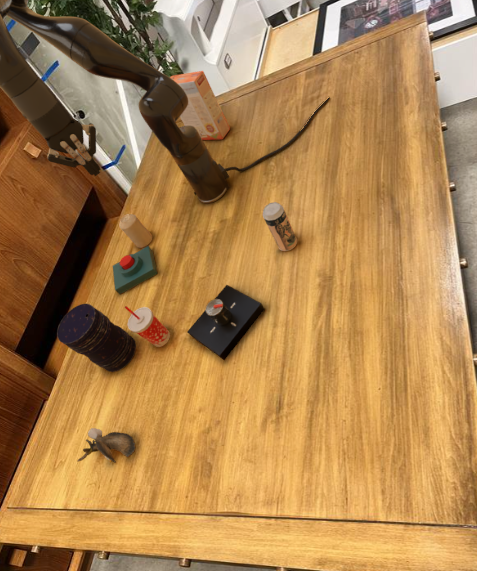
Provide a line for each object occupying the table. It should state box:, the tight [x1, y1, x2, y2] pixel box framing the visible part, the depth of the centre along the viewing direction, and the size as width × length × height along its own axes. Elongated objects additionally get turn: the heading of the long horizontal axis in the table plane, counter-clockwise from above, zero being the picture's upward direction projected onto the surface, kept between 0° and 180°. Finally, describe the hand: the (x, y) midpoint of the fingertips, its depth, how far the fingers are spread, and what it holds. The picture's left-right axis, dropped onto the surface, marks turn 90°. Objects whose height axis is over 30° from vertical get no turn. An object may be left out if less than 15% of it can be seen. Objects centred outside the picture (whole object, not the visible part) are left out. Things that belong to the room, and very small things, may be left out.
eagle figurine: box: [76, 427, 136, 464], centre depth 77 cm, size 8×7×9 cm
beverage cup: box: [124, 305, 171, 348], centre depth 86 cm, size 6×6×14 cm
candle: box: [118, 213, 153, 249], centre depth 112 cm, size 6×6×10 cm
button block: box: [112, 245, 158, 295], centre depth 107 cm, size 12×10×4 cm
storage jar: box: [56, 303, 137, 373], centre depth 88 cm, size 10×10×15 cm
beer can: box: [262, 201, 298, 252], centre depth 88 cm, size 5×5×12 cm
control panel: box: [186, 284, 266, 362], centre depth 85 cm, size 14×11×3 cm
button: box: [119, 254, 135, 269], centre depth 105 cm, size 4×4×2 cm
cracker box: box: [169, 70, 231, 141], centre depth 128 cm, size 14×6×21 cm, turn 58°
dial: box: [205, 298, 231, 326], centre depth 82 cm, size 4×4×5 cm
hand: (97, 173), depth 92 cm, fingers closed
